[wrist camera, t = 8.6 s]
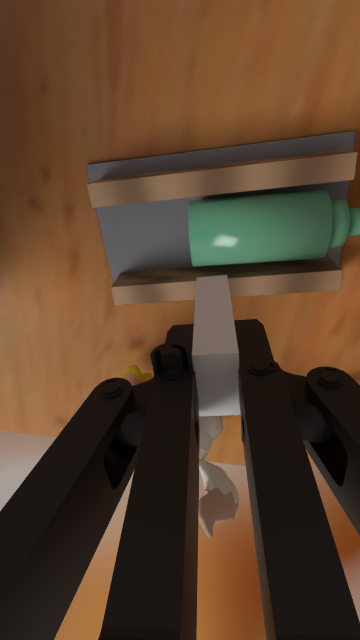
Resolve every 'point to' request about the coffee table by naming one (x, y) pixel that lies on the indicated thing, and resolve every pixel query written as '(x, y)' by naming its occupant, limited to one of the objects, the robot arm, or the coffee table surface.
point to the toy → (205, 468)
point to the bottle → (269, 227)
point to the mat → (172, 215)
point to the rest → (221, 181)
